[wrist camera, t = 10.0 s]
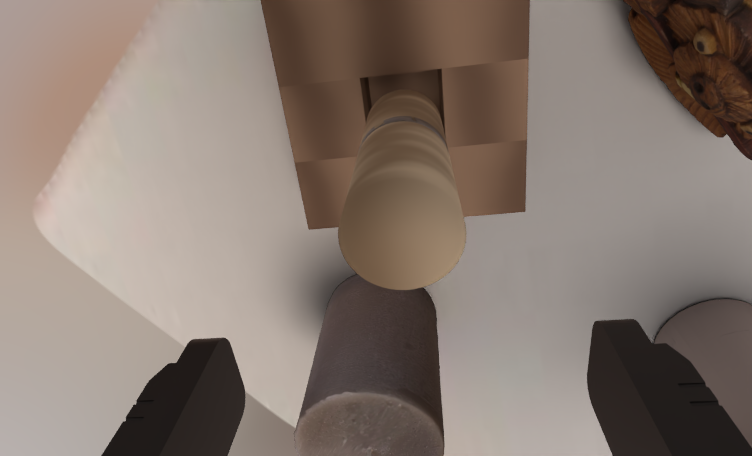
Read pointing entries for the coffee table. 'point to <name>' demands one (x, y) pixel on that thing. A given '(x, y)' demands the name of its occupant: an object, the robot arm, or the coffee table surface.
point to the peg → (402, 197)
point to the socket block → (404, 72)
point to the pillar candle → (374, 376)
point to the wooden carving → (702, 59)
